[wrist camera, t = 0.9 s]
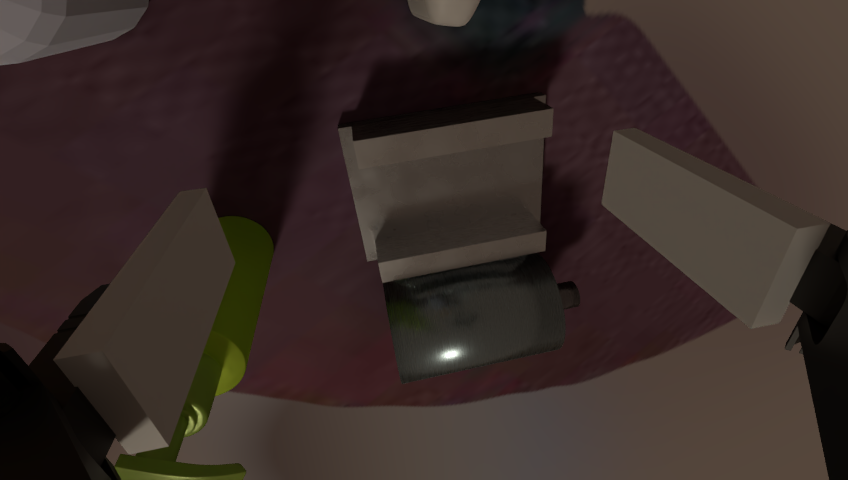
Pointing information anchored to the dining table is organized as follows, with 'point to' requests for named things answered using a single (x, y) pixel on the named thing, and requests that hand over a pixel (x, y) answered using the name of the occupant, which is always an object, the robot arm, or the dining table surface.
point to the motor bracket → (459, 232)
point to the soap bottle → (62, 25)
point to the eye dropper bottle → (444, 11)
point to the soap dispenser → (215, 358)
